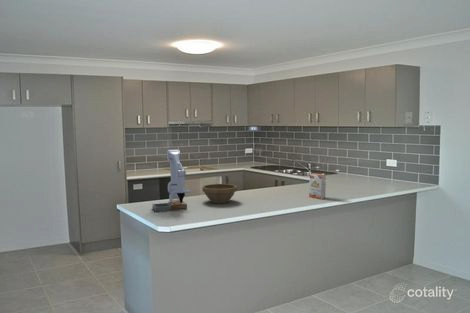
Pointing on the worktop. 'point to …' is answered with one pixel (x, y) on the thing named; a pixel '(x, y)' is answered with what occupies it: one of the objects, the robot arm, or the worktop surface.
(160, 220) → the worktop surface
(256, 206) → the worktop surface
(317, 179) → the cracker box
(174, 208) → the walnut board
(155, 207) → the charcoal tray
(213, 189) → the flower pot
